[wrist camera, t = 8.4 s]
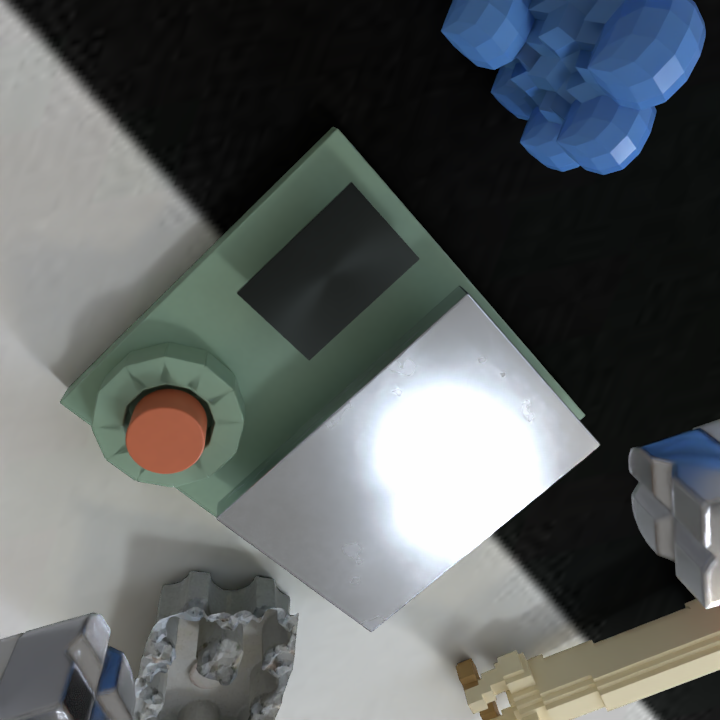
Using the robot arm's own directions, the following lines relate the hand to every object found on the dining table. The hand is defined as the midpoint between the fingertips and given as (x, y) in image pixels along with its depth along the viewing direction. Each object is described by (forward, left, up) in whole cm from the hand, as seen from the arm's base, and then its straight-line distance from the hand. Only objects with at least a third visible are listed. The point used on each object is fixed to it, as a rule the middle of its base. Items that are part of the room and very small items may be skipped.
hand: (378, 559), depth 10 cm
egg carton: (+12, -18, -20) cm, 30 cm away
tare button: (+1, -8, -17) cm, 19 cm away
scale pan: (+7, -3, -17) cm, 18 cm away
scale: (+6, -3, -20) cm, 21 cm away
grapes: (-2, +12, -20) cm, 23 cm away
